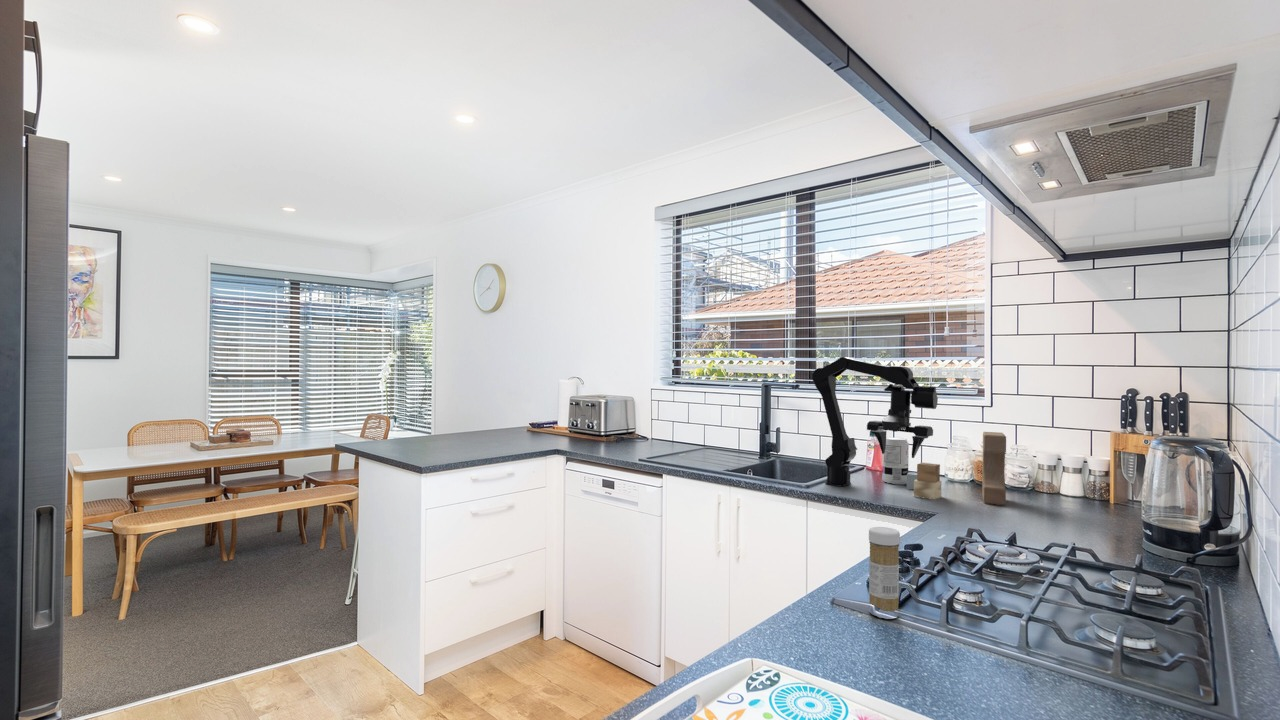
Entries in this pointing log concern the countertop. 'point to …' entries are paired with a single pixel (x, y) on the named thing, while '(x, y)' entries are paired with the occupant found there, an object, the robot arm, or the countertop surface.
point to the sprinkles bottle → (884, 568)
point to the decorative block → (994, 468)
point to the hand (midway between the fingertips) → (898, 455)
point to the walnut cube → (928, 472)
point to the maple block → (927, 489)
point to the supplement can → (895, 461)
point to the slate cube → (911, 479)
